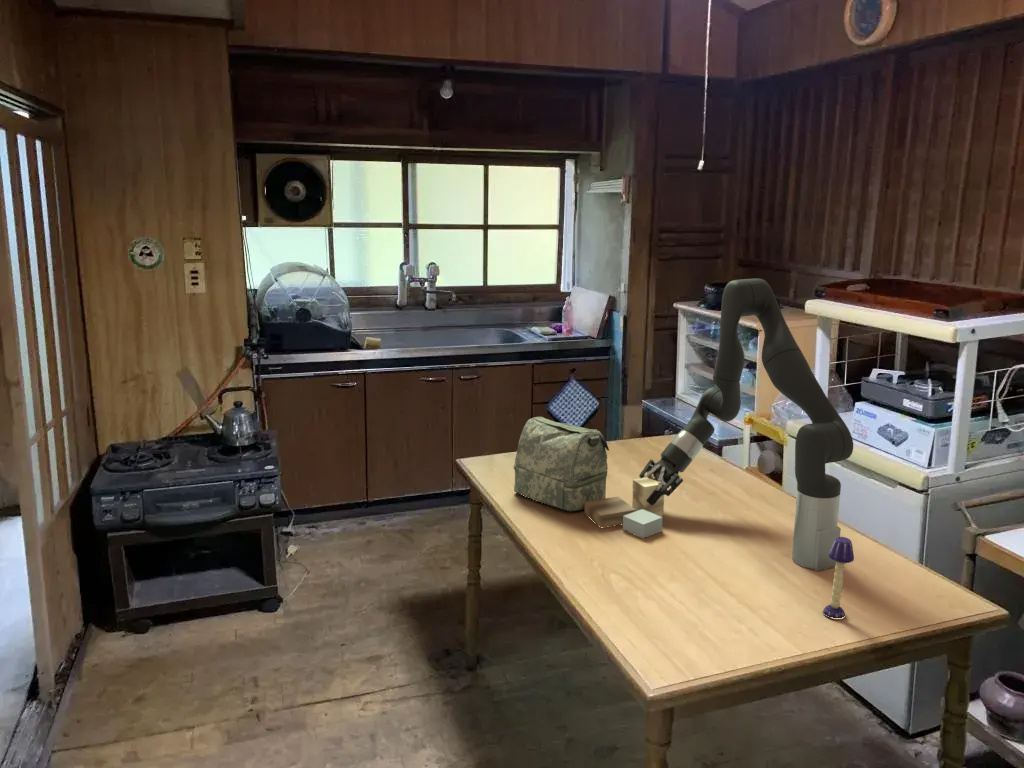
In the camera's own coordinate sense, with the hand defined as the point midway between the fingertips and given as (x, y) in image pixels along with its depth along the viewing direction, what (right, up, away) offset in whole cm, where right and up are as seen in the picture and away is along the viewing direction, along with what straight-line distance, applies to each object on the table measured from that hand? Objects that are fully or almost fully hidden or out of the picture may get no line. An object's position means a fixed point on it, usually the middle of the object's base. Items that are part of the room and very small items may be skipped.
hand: (642, 498), depth 213 cm
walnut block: (-9, -5, -1) cm, 10 cm away
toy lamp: (+31, -16, -51) cm, 62 cm away
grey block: (-2, -7, -9) cm, 11 cm away
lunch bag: (-21, -2, +14) cm, 25 cm away
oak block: (+2, -4, +2) cm, 5 cm away
